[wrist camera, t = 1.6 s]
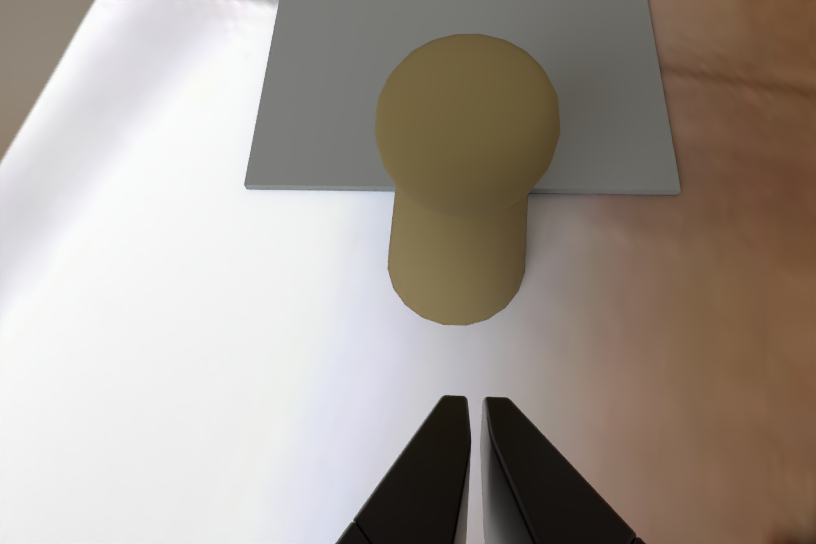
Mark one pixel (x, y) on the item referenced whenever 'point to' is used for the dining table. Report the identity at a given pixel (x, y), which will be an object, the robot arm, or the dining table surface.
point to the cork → (463, 171)
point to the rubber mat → (443, 16)
